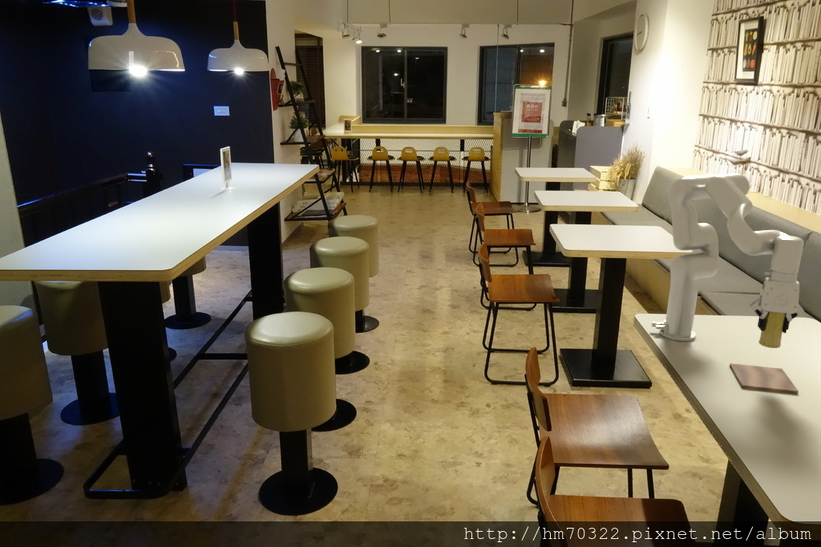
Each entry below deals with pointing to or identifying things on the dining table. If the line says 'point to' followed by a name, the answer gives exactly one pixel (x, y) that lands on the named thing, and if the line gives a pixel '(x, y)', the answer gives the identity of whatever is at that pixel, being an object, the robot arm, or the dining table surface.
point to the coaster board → (763, 378)
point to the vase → (772, 330)
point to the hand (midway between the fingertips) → (772, 329)
